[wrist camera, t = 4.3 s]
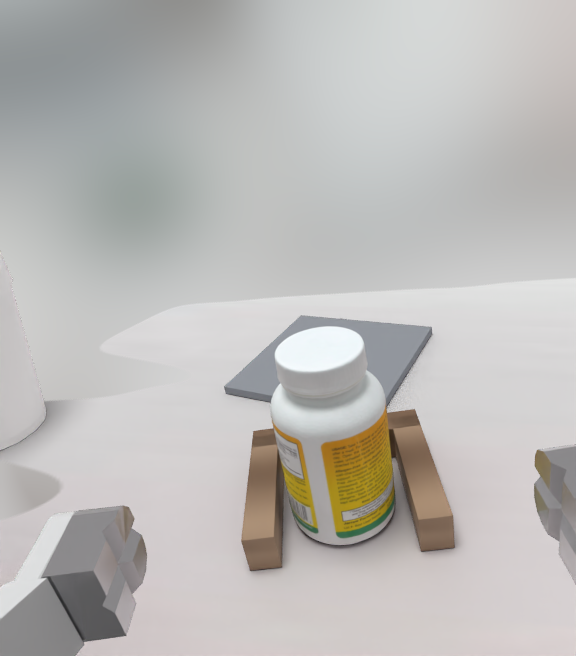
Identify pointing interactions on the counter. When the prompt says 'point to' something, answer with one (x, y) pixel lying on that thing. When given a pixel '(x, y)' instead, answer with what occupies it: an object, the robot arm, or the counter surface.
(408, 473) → the slot holder
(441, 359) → the counter surface
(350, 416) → the supplement bottle
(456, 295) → the counter surface
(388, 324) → the slate mat
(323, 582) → the counter surface
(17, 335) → the foam cup
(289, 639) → the counter surface
